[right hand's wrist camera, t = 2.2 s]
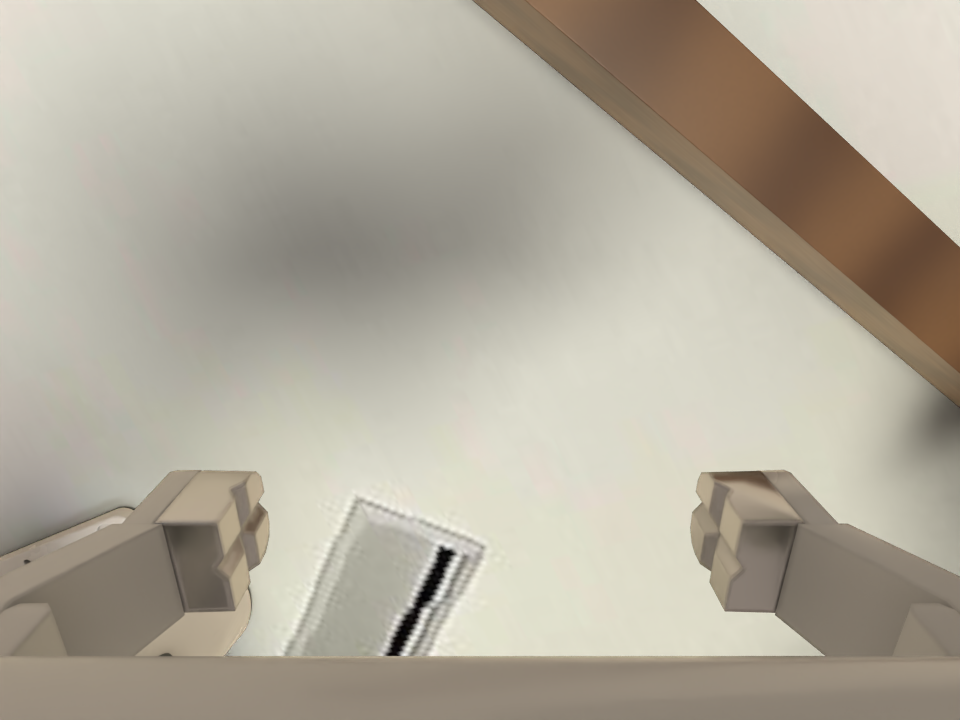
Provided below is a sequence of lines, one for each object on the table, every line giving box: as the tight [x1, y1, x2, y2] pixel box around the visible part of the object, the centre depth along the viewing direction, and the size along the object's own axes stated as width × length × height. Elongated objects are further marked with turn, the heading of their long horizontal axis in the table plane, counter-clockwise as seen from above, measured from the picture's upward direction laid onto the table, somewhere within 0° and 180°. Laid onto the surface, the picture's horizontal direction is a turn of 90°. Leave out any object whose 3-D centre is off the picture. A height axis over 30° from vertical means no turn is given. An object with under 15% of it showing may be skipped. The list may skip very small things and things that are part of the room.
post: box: [473, 0, 960, 407], centre depth 33 cm, size 66×5×8 cm, turn 54°
